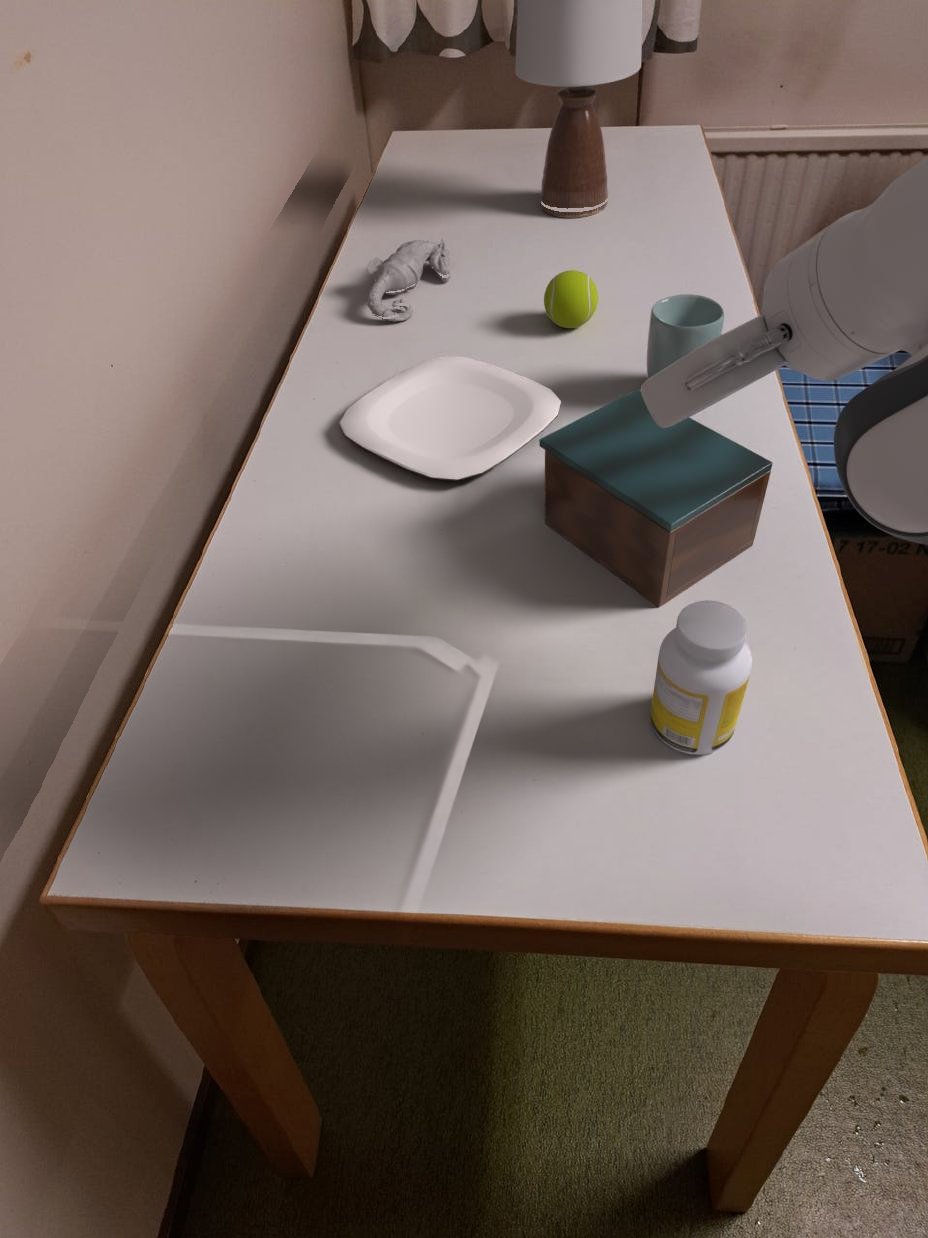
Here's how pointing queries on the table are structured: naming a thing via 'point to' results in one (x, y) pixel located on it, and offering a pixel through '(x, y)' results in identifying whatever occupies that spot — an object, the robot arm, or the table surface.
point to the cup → (680, 328)
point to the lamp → (577, 86)
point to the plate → (450, 417)
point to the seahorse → (404, 274)
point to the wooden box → (649, 532)
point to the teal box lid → (655, 460)
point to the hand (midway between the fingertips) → (699, 384)
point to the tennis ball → (571, 299)
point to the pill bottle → (701, 678)
